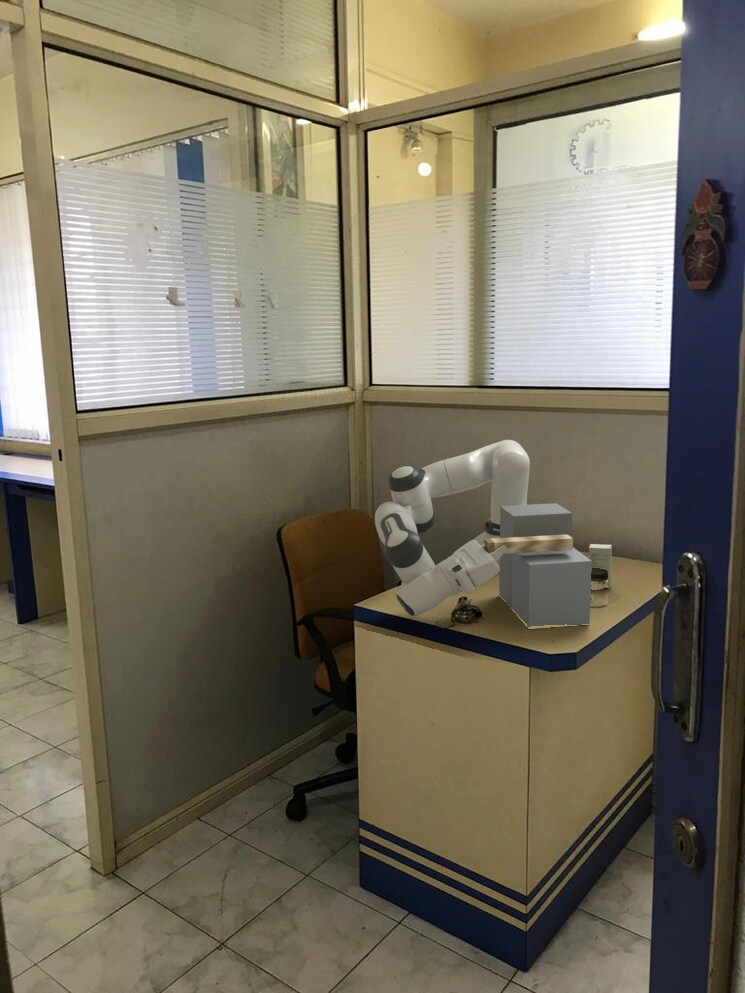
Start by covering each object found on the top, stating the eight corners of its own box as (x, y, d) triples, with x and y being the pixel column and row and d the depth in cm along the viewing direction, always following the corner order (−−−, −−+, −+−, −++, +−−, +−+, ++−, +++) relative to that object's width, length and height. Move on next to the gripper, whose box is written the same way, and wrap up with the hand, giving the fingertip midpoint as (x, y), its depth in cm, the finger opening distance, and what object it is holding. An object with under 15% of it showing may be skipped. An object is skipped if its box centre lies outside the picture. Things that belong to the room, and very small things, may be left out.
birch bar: (488, 554, 206) (488, 543, 205) (484, 550, 210) (484, 538, 209) (572, 550, 209) (573, 538, 208) (566, 545, 213) (567, 534, 212)
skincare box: (611, 585, 239) (613, 544, 236) (610, 589, 235) (612, 548, 232) (588, 583, 241) (590, 542, 238) (587, 587, 237) (588, 546, 234)
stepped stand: (528, 629, 206) (530, 529, 201) (499, 595, 231) (500, 506, 226) (589, 625, 208) (593, 526, 203) (553, 592, 233) (556, 503, 228)
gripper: (453, 570, 219) (497, 543, 219) (472, 595, 199) (520, 565, 199) (441, 551, 217) (485, 524, 217) (459, 575, 197) (508, 544, 197)
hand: (502, 544), depth 208 cm, fingers closed on birch bar, 4 cm apart
